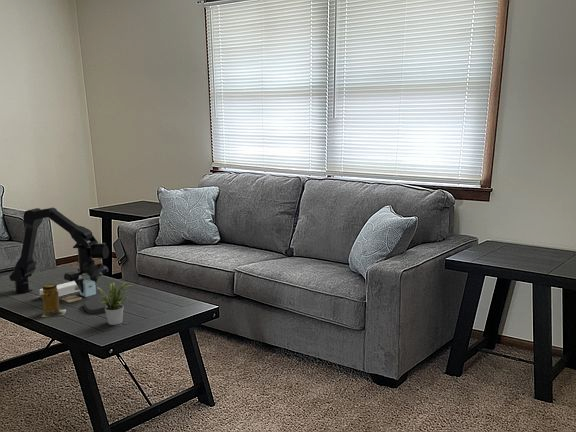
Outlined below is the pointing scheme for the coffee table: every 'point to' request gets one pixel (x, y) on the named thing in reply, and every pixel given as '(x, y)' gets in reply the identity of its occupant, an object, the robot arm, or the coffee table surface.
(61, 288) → the power strip
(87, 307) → the media streaming box
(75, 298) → the board
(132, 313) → the coffee table surface
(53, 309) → the condiment
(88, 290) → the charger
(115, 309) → the house plant
